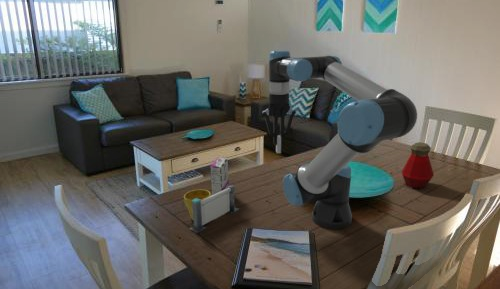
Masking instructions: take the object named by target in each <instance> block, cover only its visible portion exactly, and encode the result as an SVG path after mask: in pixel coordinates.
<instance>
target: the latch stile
mask: <svg viewBox="0 0 500 289" xmlns="http://www.w3.org/2000/svg"><path fill="white" fill-rule="evenodd" d="M200 202H201V200H200V199H198V198H195V199H193V200H192V203H193V220H192V221H193V225H192V226H191V227H189V228H188V229H189V231H193V232H194V233H197V234H199V233H200V232H202V231H204V230H206V229H207V227H206V226H205V225H201V205H200Z"/></svg>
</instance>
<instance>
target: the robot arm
mask: <svg viewBox="0 0 500 289" xmlns="http://www.w3.org/2000/svg"><path fill="white" fill-rule="evenodd" d="M268 64H269V65H268V67H269V68H268V73H269V75H268V76H269V78H268V79H269V81H268V82H269V84H268V86H269V88H268V89H269V90H268V92H269V94H268V95H269V96H268V98H269V99H268V106H267V108H266V109H265V110H262V111H261V113H262V115H263V117H264V120H265V124H266V127H267V131H268V134H269V136H271V137H273V142H272V143H273V145H274V146H275V152H276V154H282V145H284V143H285V142H284V141H285V140H284V139H285V138H284V137H285V136H289V133H290V130H291V127H292V122H293V119H294V116H296V113H297V112H296V110H295V109H292V108H291V106H290V94H289V92H290V80H291V81H295V82H305V81H307V80H310V79H311V80H312V79H322V80H324V81H326V82H327V83H329V84H330V85H332V86H334V87H335V88H337V89H338V90H340V92H343V93H344V94H346V95H348V96H349V97H350V98H352V99H354V100H355V101H353V102H350V103H348V104H346V105H344V107H343V108H342V109H341V111H340V113H339V115H338V117H337V118H338V121H337V124H336V125H337V134H336V135H335V136H333V138H332V139H331V140H330V141H329V142H328V143H327V144H326V145H325V146H324V148H323V149H322V150H321V151H320V152H319V153H317V155H316V156H315V157H314V158H313V159H312V161H310V162H307V163H303V165H301V166H300V167H299V168H298V169H297V170H296V171H295V172H292V173H290V172H289V173H287V174H286V175H284V176H283V179H282V189H283V193H284V196H285V198H286V200H287V201H288V203H289V204H290V205H291V206H293V207H294V206H295V207H297V206H298V207H300V206H303V205H308V204H310V203H315V205H314V207H313V209H312V212H311V213H312V214H311V220H312V221H313V223H315V224H316V225H318V226H320V227H322V228H326V229H331V230H341V229H345V228H348V227H349V226H351V224H352V222H353V221H352V219H353V214H352V211H351V206H350V204H349V202H350V192H351V191H350V189H351V181H352V169H351V167H350V166H349V165H348V164H349V163H351V162H352V161H353V160H354V159H355V158H356V157H357V156H358V155H359V154H367V153H369V152H370V151H372V150H373V149H374V148H375V147H376V146H378V144H380V143H382V142H383V141H387V140H391V139H392V140H393V139H396V138H401V137H403V136H406V135H408V134H409V133H410V132H411V131H412V130H413V129H414V127H415V126H416V124H417V120H418V111H417V107H416V105H415V103H414V102H413V101H412V100H411V98H409V97H408V96H407V95H405V94H403V93H402V92H400V91H398V90H397V89H394V88H387V89H386V88H385V87H384V86H381V85H379V84H377V83H375V82H374V81H372V80H370V79H368V78H367V77H365V76H363V75H361V74H360V73H358V72H357V71H354V70H352V69H351V68H349V67H347V66H345V65H343V63H342V61H341V59H340V57H338V56H335V55H324V56H321V55H320V56H309V57H308V56H307V57H306V56H305V57H291V52H290V51H289V50H278V49H277V50H271V51H270V52H269V60H268ZM270 114H271V116H272V119H273V124H272V125H271V121H270V117H269V115H270ZM286 115H288V116H287V121H286V125H285V118H286ZM278 121H279V123H278ZM278 124H279V129H278ZM272 127H273V128H272ZM278 130H279V134H278Z"/></svg>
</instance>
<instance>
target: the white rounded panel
mask: <svg viewBox="0 0 500 289" xmlns="http://www.w3.org/2000/svg"><path fill="white" fill-rule="evenodd" d="M235 187H236V186H235V185H233V184H231V185H230V184H229V186H228V188H227V189H225V190H223V191H221V192H218V193H216V194H214V195H212V194H211V196H210V197H208V198H206V199H204V200H202V201H201V202H200V205H201V225H202V226H205V225H206V224H208V223H210V222H211V221H213V220H215V219H217V218H219V217H221V216H223V215H225V214H226V213H229V212H228V211H230V207H229V192H234V193H235Z"/></svg>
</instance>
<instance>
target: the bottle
mask: <svg viewBox="0 0 500 289" xmlns="http://www.w3.org/2000/svg"><path fill="white" fill-rule="evenodd" d="M410 150H411V154H410V155H409V156H408V159H407V160H406V162H405V164H404V166H403V168H402V171H401V174H402V178H403V180H404V182H405V185H406V187H408V186H409V187H408V188H410V187H412V188H411V189H414V188H422V189H424V188H423V187H425V188H426V187H427V185H428V184H429V182H430V181H431V179H433V177H434V175H435V174H434V170H433V167H432V163H431V160H430V156H429V153H430V152H431V150H432V148H431V146H430V145H429V144H428V143H426V142H421V141H420V142H418V141H417V142H414V144H412V145H411V146H410Z"/></svg>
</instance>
